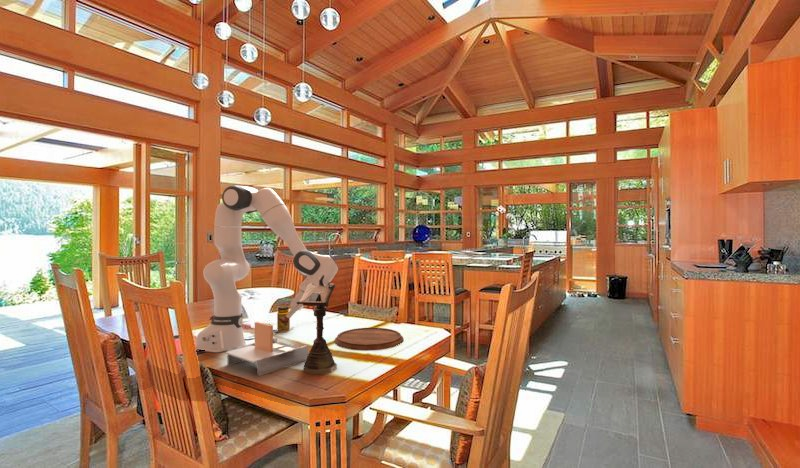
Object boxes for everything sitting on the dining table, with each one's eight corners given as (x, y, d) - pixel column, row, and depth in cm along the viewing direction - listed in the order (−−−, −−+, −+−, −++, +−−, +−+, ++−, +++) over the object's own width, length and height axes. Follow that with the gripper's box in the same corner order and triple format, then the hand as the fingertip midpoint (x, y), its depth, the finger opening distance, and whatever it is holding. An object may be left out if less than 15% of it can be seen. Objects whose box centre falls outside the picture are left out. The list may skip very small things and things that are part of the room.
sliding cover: (251, 346, 161) (251, 320, 160) (279, 355, 150) (279, 326, 150) (225, 353, 152) (225, 325, 152) (253, 363, 141) (253, 333, 141)
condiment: (285, 332, 201) (285, 308, 201) (270, 331, 204) (270, 307, 204) (293, 329, 208) (293, 306, 208) (279, 327, 211) (279, 305, 211)
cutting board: (397, 352, 169) (397, 346, 169) (324, 349, 174) (324, 343, 174) (407, 333, 201) (407, 328, 201) (346, 331, 206) (346, 326, 206)
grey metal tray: (276, 350, 171) (275, 337, 171) (308, 359, 159) (307, 345, 159) (227, 364, 154) (227, 349, 154) (259, 376, 141) (258, 360, 141)
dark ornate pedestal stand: (326, 381, 136) (325, 278, 136) (291, 377, 140) (291, 277, 139) (344, 365, 152) (344, 273, 152) (313, 362, 156) (313, 272, 155)
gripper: (305, 286, 177) (284, 311, 174) (302, 284, 158) (278, 313, 154) (316, 295, 178) (296, 320, 175) (314, 294, 158) (291, 323, 155)
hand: (287, 317), depth 164 cm, fingers closed
